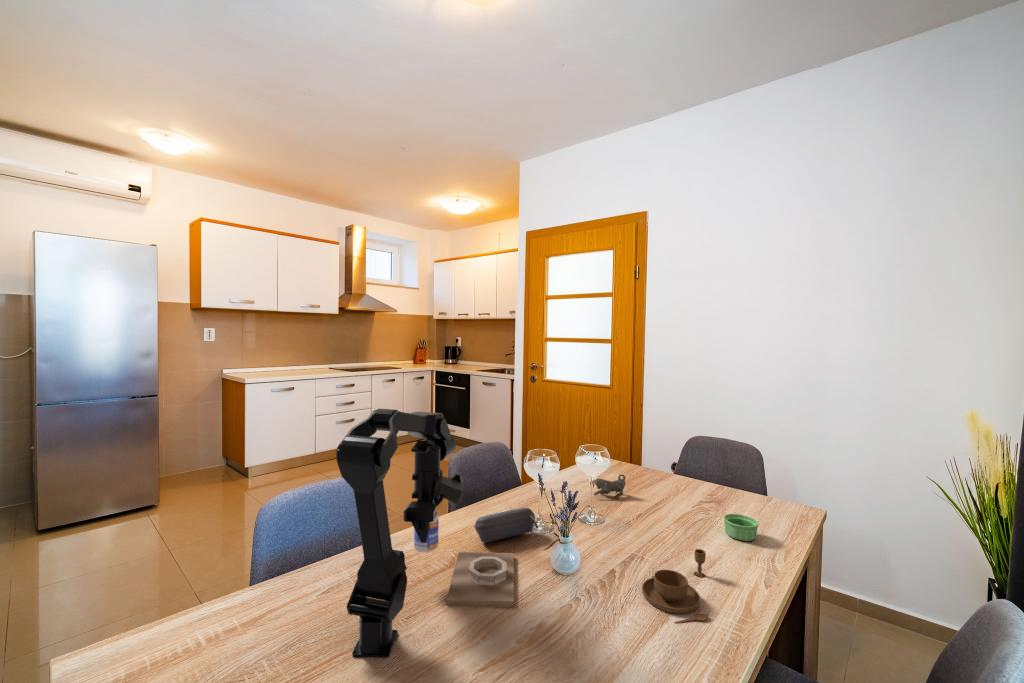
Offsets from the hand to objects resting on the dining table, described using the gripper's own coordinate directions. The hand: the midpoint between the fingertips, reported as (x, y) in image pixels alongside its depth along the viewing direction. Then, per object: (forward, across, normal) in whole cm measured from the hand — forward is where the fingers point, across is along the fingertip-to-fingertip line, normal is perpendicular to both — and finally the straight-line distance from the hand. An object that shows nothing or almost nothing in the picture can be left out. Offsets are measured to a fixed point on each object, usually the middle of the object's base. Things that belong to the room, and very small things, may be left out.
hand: (426, 536), depth 100 cm
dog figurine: (+11, +56, -54) cm, 79 cm away
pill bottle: (+3, 0, 0) cm, 3 cm away
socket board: (+11, +2, -13) cm, 17 cm away
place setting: (+12, -2, -58) cm, 59 cm away
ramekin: (+11, +28, -86) cm, 91 cm away
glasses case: (+11, +22, -18) cm, 30 cm away
